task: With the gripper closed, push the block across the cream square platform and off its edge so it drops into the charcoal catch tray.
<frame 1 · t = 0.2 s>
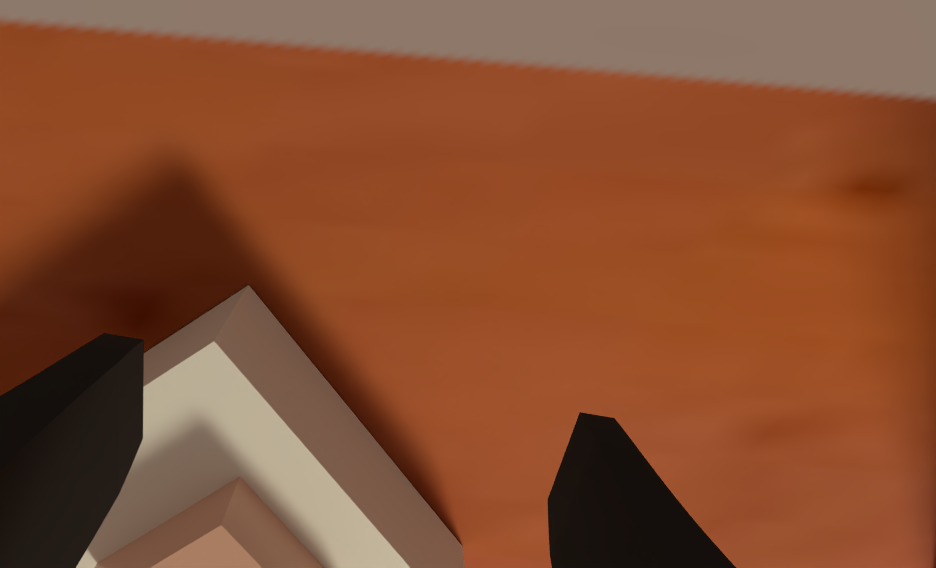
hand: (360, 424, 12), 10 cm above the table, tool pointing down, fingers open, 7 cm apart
cream square platform: (219, 514, 25), on the table
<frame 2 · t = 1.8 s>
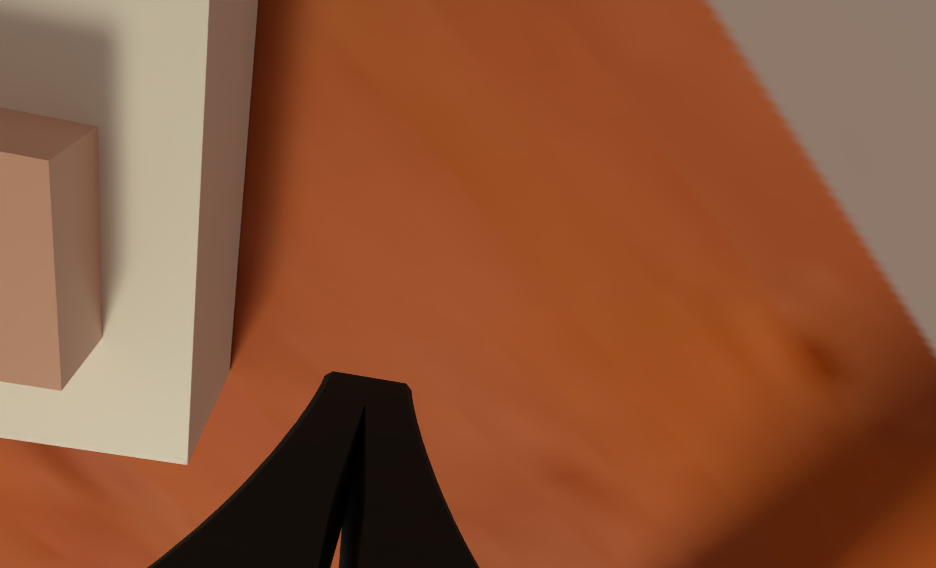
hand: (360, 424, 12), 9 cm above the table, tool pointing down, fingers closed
cream square platform: (3, 142, 19), on the table
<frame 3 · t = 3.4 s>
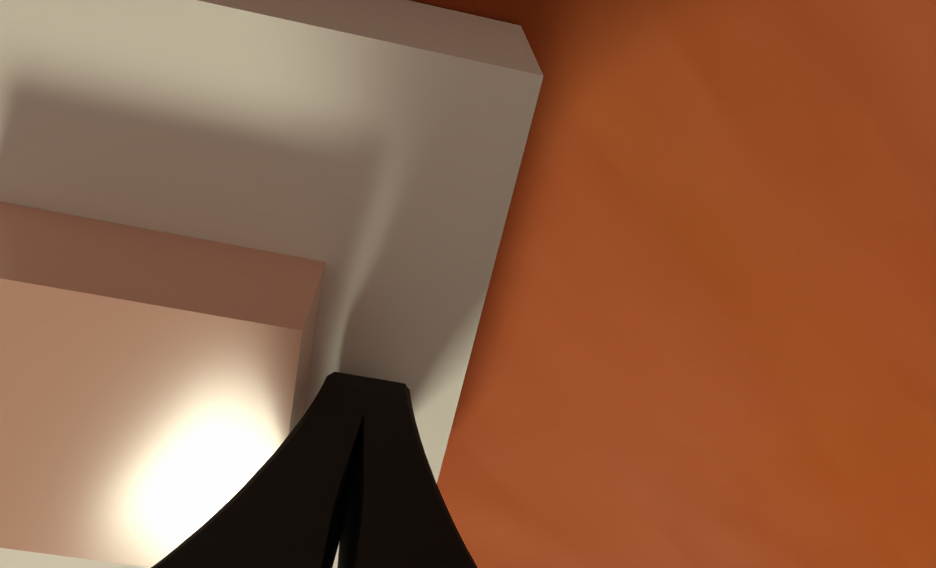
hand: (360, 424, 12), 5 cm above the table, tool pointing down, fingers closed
block: (158, 364, 12), point 4 cm above the table, touching gripper
cream square platform: (181, 250, 16), on the table
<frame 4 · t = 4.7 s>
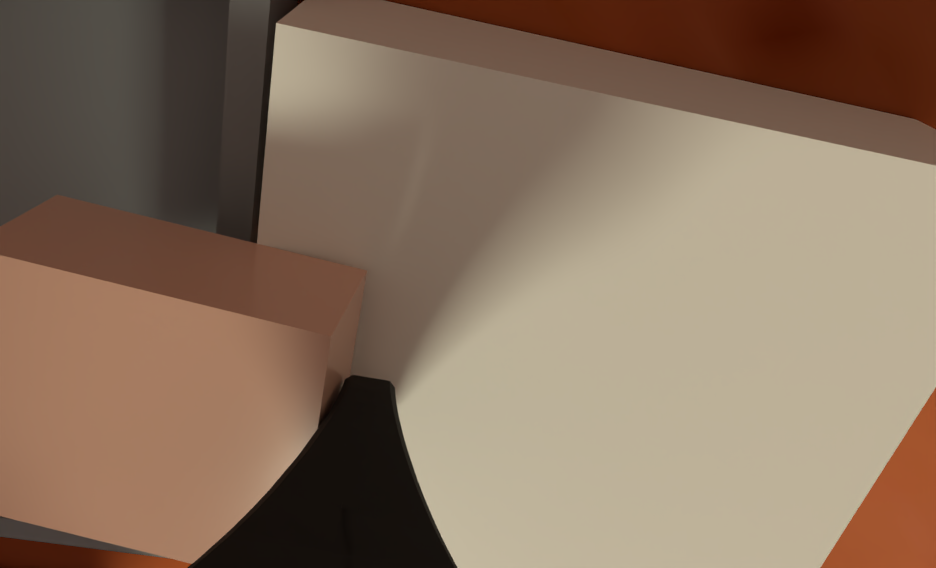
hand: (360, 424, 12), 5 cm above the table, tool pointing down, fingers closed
catch tray: (3, 220, 15), on the table
block: (205, 362, 13), point 4 cm above the table, tilted 8°, touching cream square platform, gripper
cream square platform: (551, 317, 17), on the table
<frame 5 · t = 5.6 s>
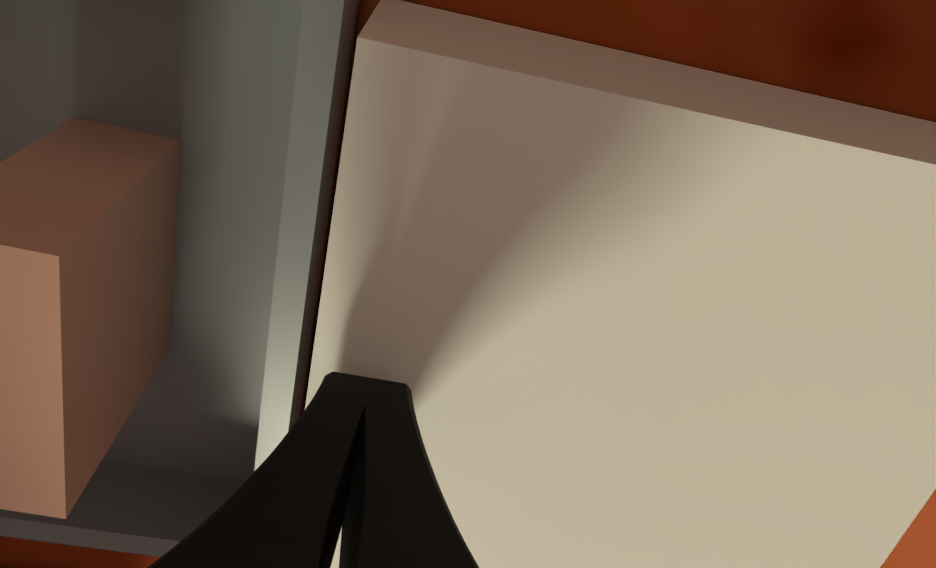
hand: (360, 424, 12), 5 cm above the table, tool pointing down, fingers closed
catch tray: (56, 227, 15), on the table
block: (128, 314, 13), point 3 cm above the table, tilted 90°, touching catch tray
cream square platform: (599, 326, 17), on the table
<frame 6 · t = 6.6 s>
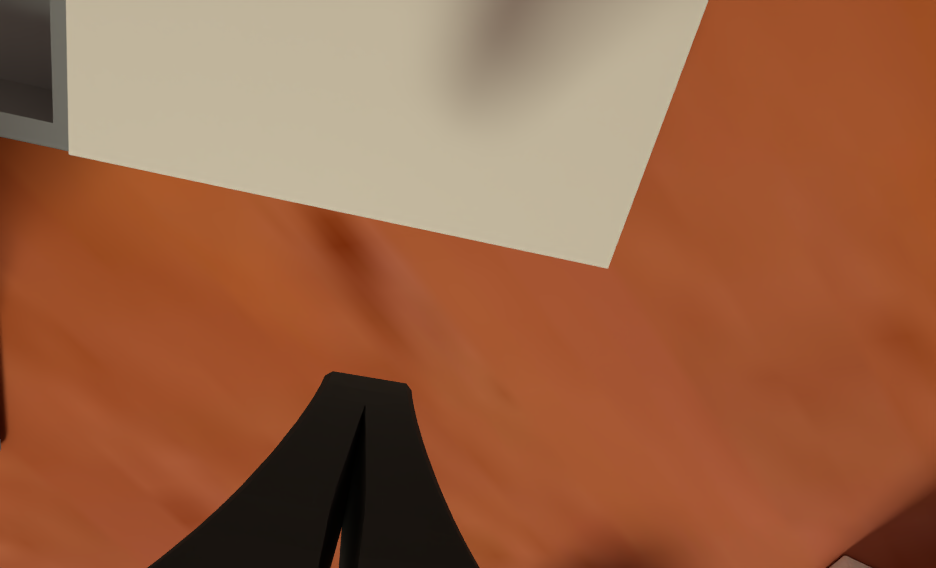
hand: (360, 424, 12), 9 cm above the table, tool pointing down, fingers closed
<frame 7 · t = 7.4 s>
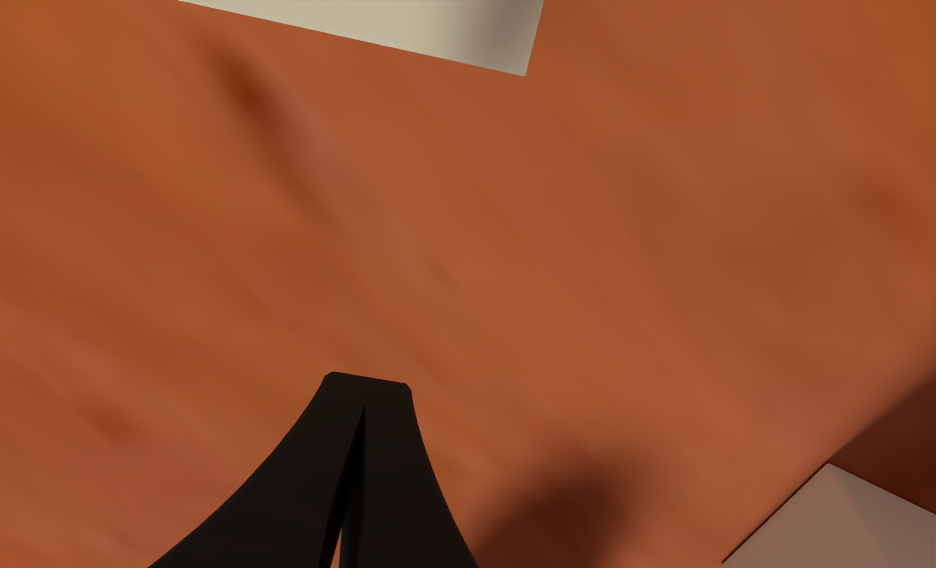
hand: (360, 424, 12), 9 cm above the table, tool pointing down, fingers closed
milk: (829, 538, 27), on the table
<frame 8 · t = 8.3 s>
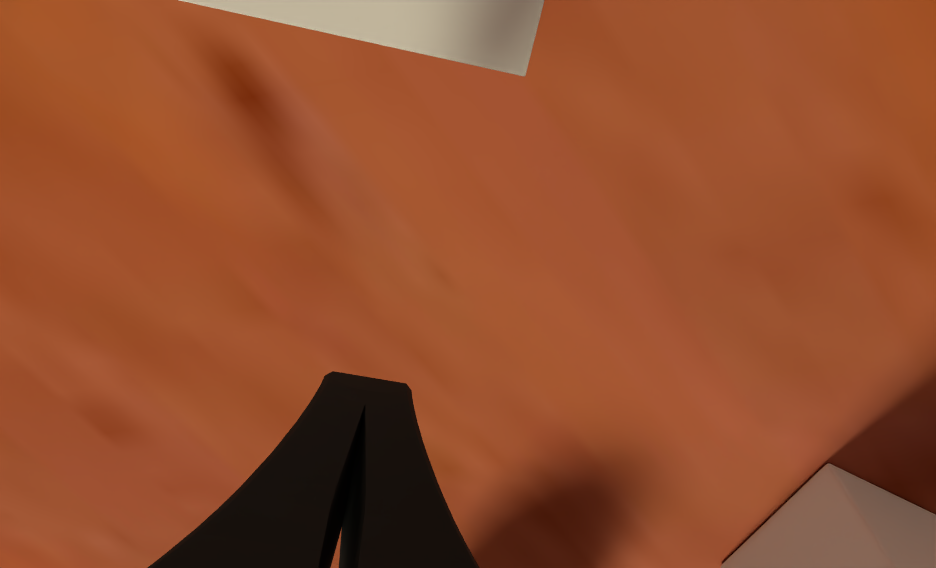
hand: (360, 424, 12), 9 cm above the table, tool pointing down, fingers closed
milk: (829, 538, 27), on the table
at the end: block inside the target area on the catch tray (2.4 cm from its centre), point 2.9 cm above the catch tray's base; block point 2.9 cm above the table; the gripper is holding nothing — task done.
